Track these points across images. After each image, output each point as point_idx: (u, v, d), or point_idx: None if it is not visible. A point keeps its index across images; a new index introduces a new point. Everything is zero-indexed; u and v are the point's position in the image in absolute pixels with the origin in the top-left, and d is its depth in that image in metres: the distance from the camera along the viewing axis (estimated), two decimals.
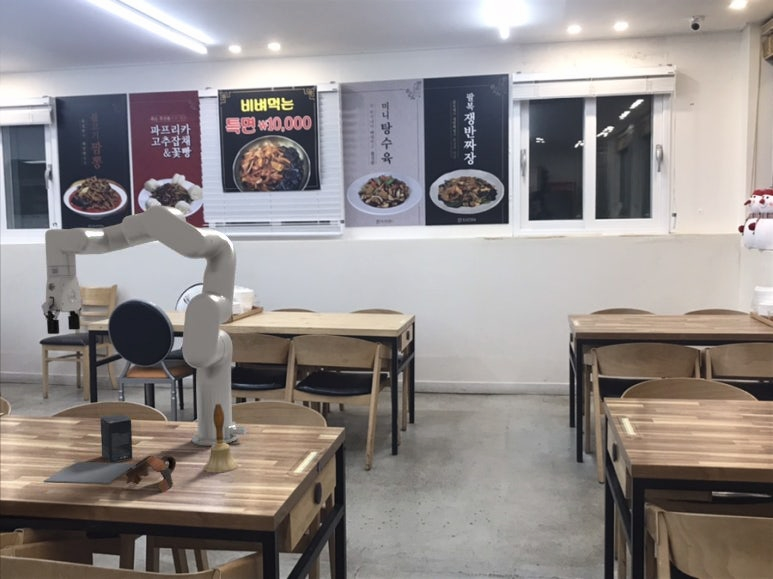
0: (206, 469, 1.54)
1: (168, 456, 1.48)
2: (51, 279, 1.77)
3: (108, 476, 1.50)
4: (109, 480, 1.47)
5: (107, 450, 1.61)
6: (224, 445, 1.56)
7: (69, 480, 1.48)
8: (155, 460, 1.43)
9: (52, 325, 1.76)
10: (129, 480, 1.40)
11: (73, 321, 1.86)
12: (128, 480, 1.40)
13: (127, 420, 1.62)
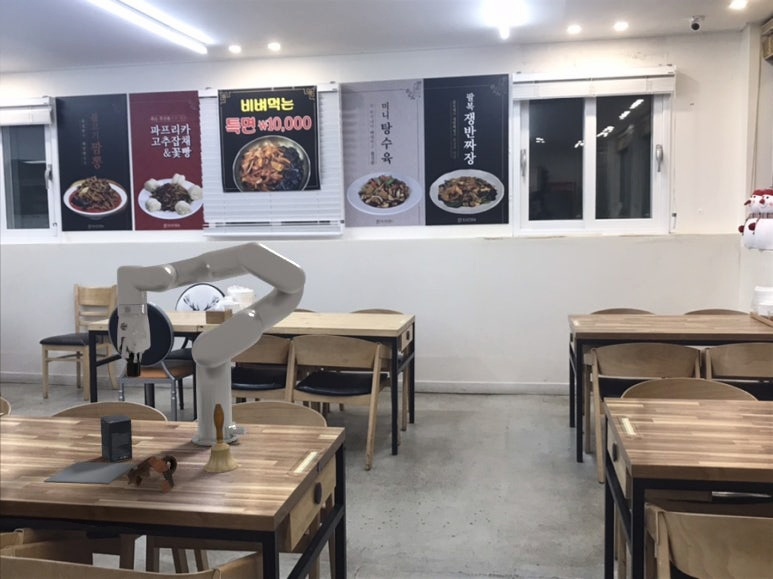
0: (206, 469, 1.54)
1: (169, 457, 1.47)
2: (123, 318, 1.69)
3: (108, 476, 1.50)
4: (109, 480, 1.47)
5: (107, 450, 1.61)
6: (224, 445, 1.56)
7: (69, 480, 1.48)
8: (157, 461, 1.43)
9: (132, 368, 1.73)
10: (131, 481, 1.39)
11: None
12: (130, 481, 1.40)
13: (127, 420, 1.62)
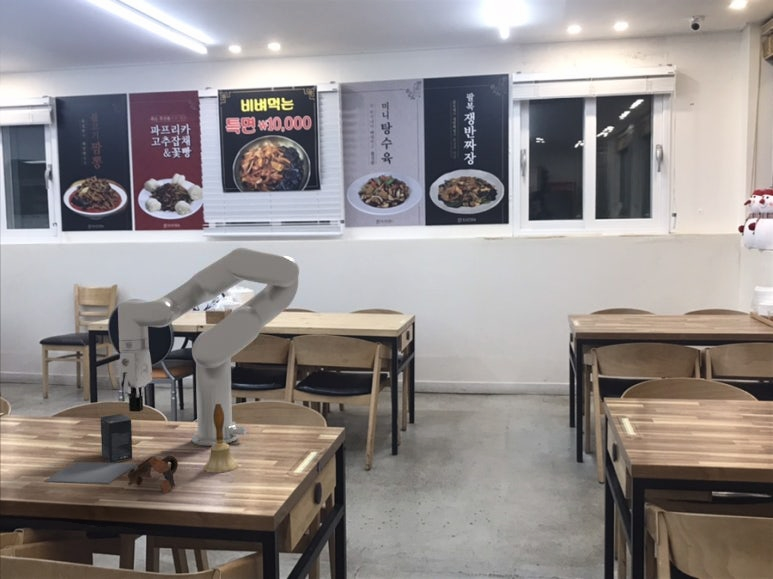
0: (206, 469, 1.54)
1: (170, 457, 1.47)
2: (125, 354, 1.69)
3: (108, 476, 1.50)
4: (109, 480, 1.47)
5: (107, 450, 1.61)
6: (224, 445, 1.56)
7: (69, 480, 1.48)
8: (157, 461, 1.42)
9: (134, 403, 1.73)
10: (131, 481, 1.39)
11: None
12: (130, 481, 1.39)
13: (127, 420, 1.62)
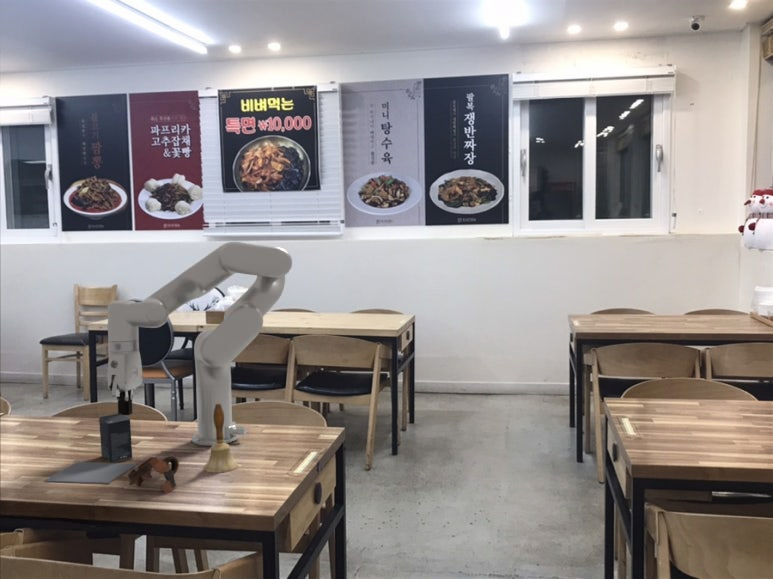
0: (206, 469, 1.54)
1: (171, 457, 1.47)
2: (114, 356, 1.64)
3: (108, 476, 1.50)
4: (109, 480, 1.47)
5: (107, 450, 1.61)
6: (224, 445, 1.56)
7: (69, 480, 1.48)
8: (158, 462, 1.42)
9: (123, 406, 1.68)
10: (132, 482, 1.39)
11: None
12: (131, 482, 1.39)
13: (126, 420, 1.62)
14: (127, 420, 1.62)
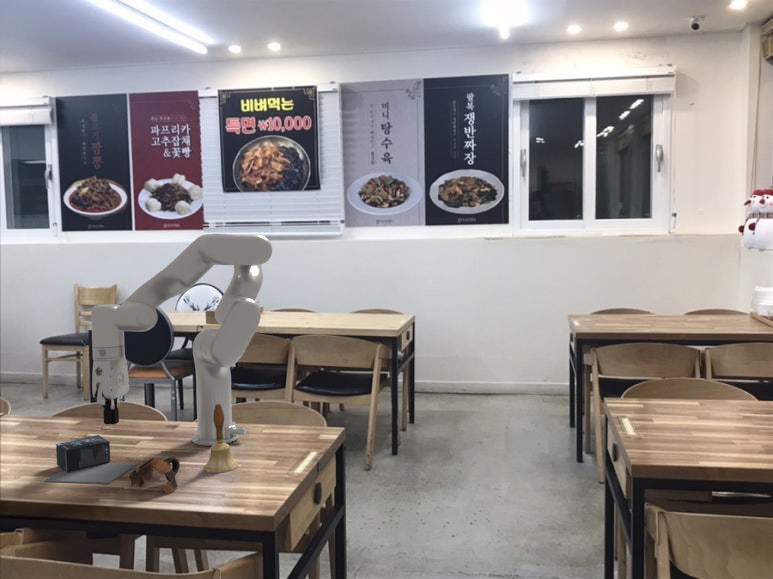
0: (206, 469, 1.54)
1: (172, 458, 1.46)
2: (98, 363, 1.57)
3: (108, 476, 1.50)
4: (109, 480, 1.47)
5: None
6: (224, 445, 1.56)
7: (69, 480, 1.48)
8: (159, 462, 1.42)
9: (109, 415, 1.61)
10: (133, 483, 1.38)
11: None
12: (132, 483, 1.39)
13: (66, 454, 1.53)
14: (66, 453, 1.53)
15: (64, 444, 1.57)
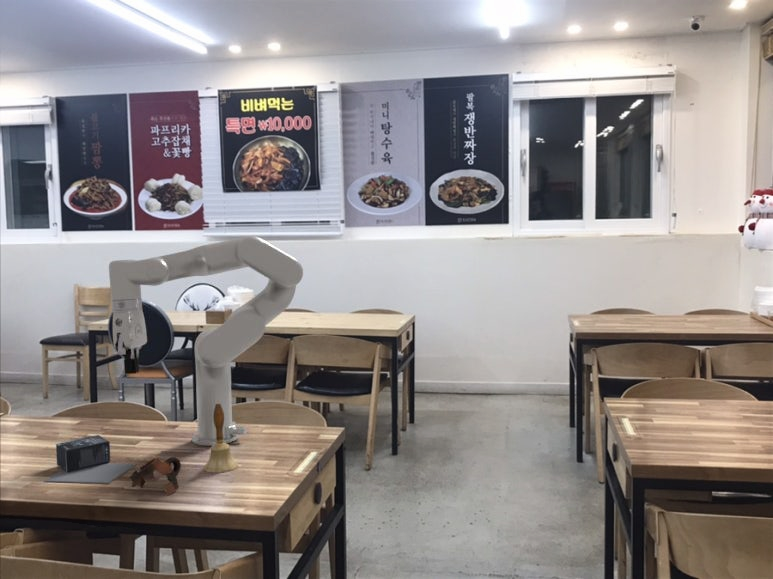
0: (206, 469, 1.54)
1: (173, 458, 1.46)
2: (118, 314, 1.65)
3: (108, 476, 1.50)
4: (109, 480, 1.47)
5: None
6: (224, 445, 1.56)
7: (69, 480, 1.48)
8: (161, 463, 1.41)
9: (130, 364, 1.69)
10: (135, 483, 1.38)
11: None
12: (134, 483, 1.38)
13: (66, 454, 1.53)
14: (66, 453, 1.53)
15: (64, 444, 1.57)
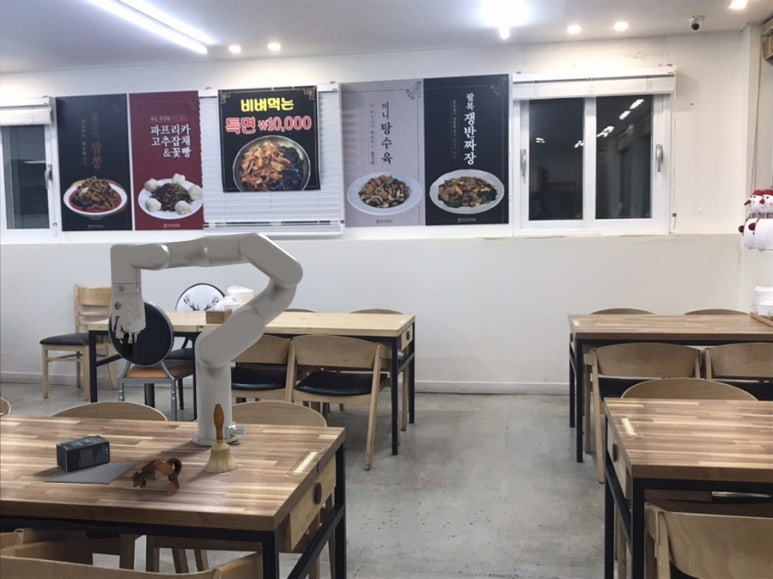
0: (206, 469, 1.54)
1: (174, 459, 1.45)
2: (117, 297, 1.66)
3: (108, 476, 1.50)
4: (109, 480, 1.47)
5: None
6: (224, 445, 1.56)
7: (69, 480, 1.48)
8: (162, 463, 1.41)
9: (127, 349, 1.69)
10: (136, 484, 1.38)
11: None
12: (135, 484, 1.38)
13: (66, 454, 1.53)
14: (66, 453, 1.53)
15: (64, 444, 1.57)
